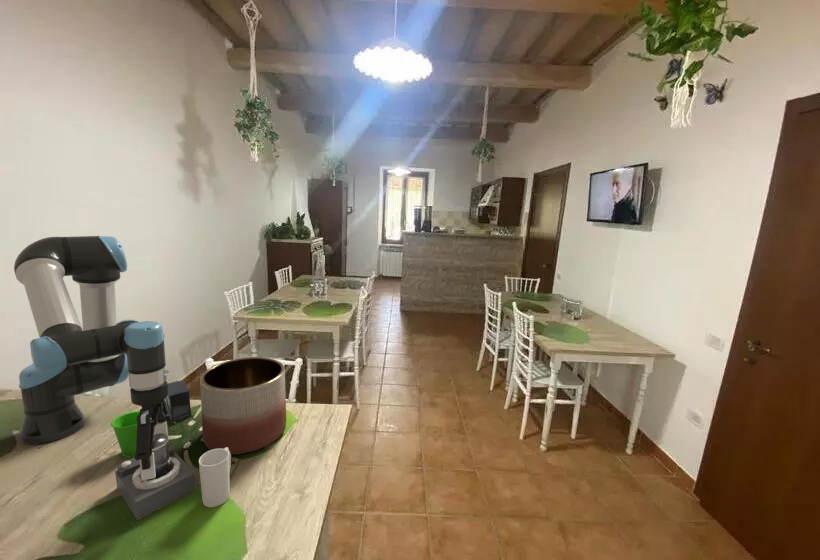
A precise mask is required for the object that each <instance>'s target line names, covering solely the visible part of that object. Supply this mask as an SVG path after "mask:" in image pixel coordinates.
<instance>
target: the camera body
mask: <svg viewBox="0 0 820 560" xmlns="http://www.w3.org/2000/svg"><path fill="white" fill-rule="evenodd" d="M168 448H169V459H170V472H169V473H168V474H167V475H165V476H163V477H161V478H158V479H154V480H149V481H147V480H141V470H140V460H135V458H133V459H130V460H125V461H123V462H121V464H118V465H116V466H117V470H115V471H114V475H115V481H116V483H115V484H116V489H117V490H118V492H119V494H120V495H121V497H122V498H123V500H124V501H125V503H126V505H127V506H128V508H129V510H130V511H131V512H133V513H132V514H133V516H134V515H135V516H134V518H135V519H136V518H137V519H136V520H138V521H140V520H141V519H140V518H142V519H143V517H144V516H146V515H148V514H150V513H151V514H153V513H154V512H153V511H155V512H157V511H158V509H159V508H161V509H163V508H165V507H166V505H167V506H168V505H170V504H172V503H174V502H176V501H178V500H179V499H182V498H184V497H185V496H187V495H189V494H191V493H193V492H195V491H197V483H196V482H197V481H196V473H195V471H194V470H193V469H192V468H191V467H190V466H189V465H188V464H187V463H186V462H185V460H183V458H181V456H180V455H178V454H177V452H176V451H175V449H174V447H172V446H171V445H170V444H169V443H168ZM164 506H165V507H164ZM162 507H163V508H162ZM156 510H157V511H156ZM159 510H160V509H159ZM152 512H153V513H152ZM151 514H150V515H151ZM148 516H149V515H148ZM146 517H147V516H146ZM144 518H145V517H144ZM139 519H140V520H139Z"/></svg>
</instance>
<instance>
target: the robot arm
mask: <svg viewBox="0 0 820 560" xmlns="http://www.w3.org/2000/svg"><path fill="white" fill-rule="evenodd" d="M127 270H128V262H127V256H126V253H125V251H124V248H123V245H122V244H121V242H120V240H119V239H117V238H116V237H114V236H106V235H105V236H104V235H103V236H101V235H86V236H85V235H84V236H81V235H80V236H79V235H78V236H49V237H44V238H40V239H38V240H36V241H34V242H32V243H30V244H29V245H27V246H26V247H25V248H23V250H21V252H20V253H19V254H18V255H17V257H16V259H15V261H14V266H13V271H14V275H15V278H16V280H17V281H18V282H19V283H20V284H22V285H23V287H24V289H25V293H26V297H27V300H28V303H29V307H30V310H31V314H32V317H33V321H34V324H35V326H36V330H37V333H38V337H37V338H34V339H32V340H31V341H30V343H29V344H30V345H29V346H30V348H29V349H30V353H31V358H32V359H31V360H32V364H30V365H28V366H27V367H25V368H23V369H22V370H21V371H20V373H19V375H18V377H19V378H18V379H19V381H18V382H19V384H18V387H19V390H20V392H21V398H22V407H23V412H24V413H23V414H24V416H23V419H22V422H21V426H20V430H19V431H18V432H19V433H18V434H19V440H21V441H22V442H23V443H22V442H21V441H20V442H21V443H22V444H24V443H27V444H26V445H40V444H42V445H43V444H47V443H51V442H54V441H58V440H61V439H64V438H65V437H69V436H71V435H72V434H75V433H77V432H79V430H81V428H83V426H84V425H85V415H84V413H83V412H82V410H81V409H80V408H79V406H78V405H77V403H76V401H75V399H76V398H75V396H77V395H81V394H85V393H89V392H92V391H93V392H94V391H96V390H100V389H103V388H106V387H113V386H115V385H117V384H121V383H124V382H125V381H126V380H128V383H129V384H128V385H129V388H130V390H129V392H130V399H131V403H132V404H133V405H135V406H139V407H141V408H140V409H139V411H140V413H139V415H138V416H137V440H136V455H135V456H133V457H134V458H135V460H140V470H141V480H147V479H153V478H155V477H156V473H155V462H154V452H152V447H153V437H154V434H166V435H167V436H168V437H169V432H168V423H167V422H168V421H171V419H170V416H169V415H168V409H167V406H166V402H165V398H166V397H167V395H168V381H167V380H168V377H167V374H169V372H170V370H169V369H167V363H166V362H167V361H166V351H165V333H164V328H163V325H162V323H160V322H159V321H153V320H145V321H138V320H136V319H123V320H121V321H118V322H117V310H116V308H117V307H116V286H115V284H116V283H117V282H118V281H120V279H121V273H124V272H127ZM68 276H69V277H71V278H72V281H73V282H74V283H77V284H78V285H79V296H80V297H79V298H80V307H81V308H80V310H81V321H82V322H80V320H79V316H78V314H77V312H76V309H75V306H74V303H73V301H72V298H71V296H70V294H69V291H68V288H67V285H66V283H65V280H64V277H68ZM81 324H82V325H81ZM46 442H47V443H46ZM134 458H133V459H134Z"/></svg>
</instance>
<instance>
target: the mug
mask: <svg viewBox="0 0 820 560" xmlns="http://www.w3.org/2000/svg"><path fill="white" fill-rule="evenodd" d="M231 465H232V454H230V451H229V449H228V447H225V449H213V450H210V449H209V450H207V451H206V452H204V453H203V454H202V455H201V456H200V457H199V459H198V467H199V477H200V479H199V480H200V488H201V496H202V497H201V498H202V504H203V506H205V507H206V506H207V507H206V508H216V507H219V506H221V505H223V504H224V503H226V502H227V500H229V498H230V493H231V491H230V489H231V485H230V483H231V482H230V480H231V479H230V473H231Z"/></svg>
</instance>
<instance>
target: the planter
mask: <svg viewBox="0 0 820 560" xmlns="http://www.w3.org/2000/svg"><path fill="white" fill-rule="evenodd" d="M285 372H286V369H285V365H284V364H283V363H282V362H280V361H278V360H276V359H275V358H274V359H273V358H269V357H261V356H260V357H259V356H257V357H256V356H253V357H252V356H251V357H242V358H240V357H239V358H235V359H230V360H226V361H223V362H220V363H218V364H217V363H216V364H215V365H213V366H211V367H209V368H207V369H206V370H205V371H203V373H202V374H201V375H200V379H199V383H200V385H199V387H200V403H201V407H200V408H201V426H202V427H201V429H202V440H203V442H204V445H205V447H206V448H208V449H209V451H210V450H213V449H225V447H228V449H229V451H230V454H231V455H241V454H246V453H252V452H254V451H258V450H260V449H262V448H264V447H266V446H269V445H270V444H272V443H273V442H275V441H276V440H277V439H278V438H280V437H281V435H282V434H283V433H284V432H285V429H286V425H287V403H286V402H287V401H286V400H287V398H286V373H285Z"/></svg>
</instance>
